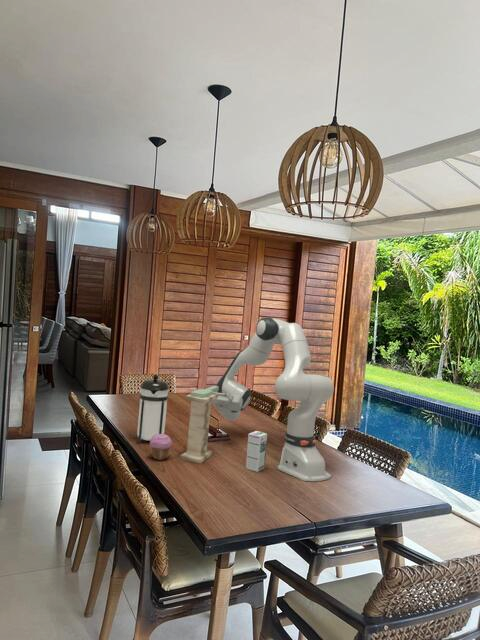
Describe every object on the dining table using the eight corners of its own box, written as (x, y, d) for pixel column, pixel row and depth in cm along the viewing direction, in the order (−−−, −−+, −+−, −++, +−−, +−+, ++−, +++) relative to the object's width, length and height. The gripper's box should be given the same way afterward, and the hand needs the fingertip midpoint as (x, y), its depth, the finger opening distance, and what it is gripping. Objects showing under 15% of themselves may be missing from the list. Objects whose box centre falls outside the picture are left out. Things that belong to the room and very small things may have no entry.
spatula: (210, 388, 217) (210, 385, 217) (222, 390, 215) (222, 387, 215) (190, 396, 198) (190, 392, 197) (203, 398, 196) (204, 394, 196)
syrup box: (257, 472, 191) (261, 436, 190) (245, 468, 194) (248, 432, 193) (264, 468, 196) (268, 433, 195) (252, 465, 199) (255, 430, 198)
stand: (193, 450, 210) (198, 391, 209) (212, 454, 207) (217, 394, 206) (179, 459, 198) (185, 396, 197) (199, 463, 195) (205, 399, 194)
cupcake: (160, 463, 190) (162, 438, 190) (143, 458, 195) (146, 433, 194) (174, 458, 198) (176, 434, 197) (158, 453, 202) (160, 429, 202)
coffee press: (175, 442, 220) (181, 376, 219) (146, 447, 208) (152, 378, 207) (152, 432, 232) (157, 370, 230) (123, 437, 220) (129, 371, 219)
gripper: (205, 394, 233) (197, 382, 221) (246, 400, 226) (239, 389, 215) (202, 406, 230) (193, 395, 219) (242, 413, 224) (235, 402, 212)
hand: (216, 392), depth 217 cm, fingers open, 8 cm apart
